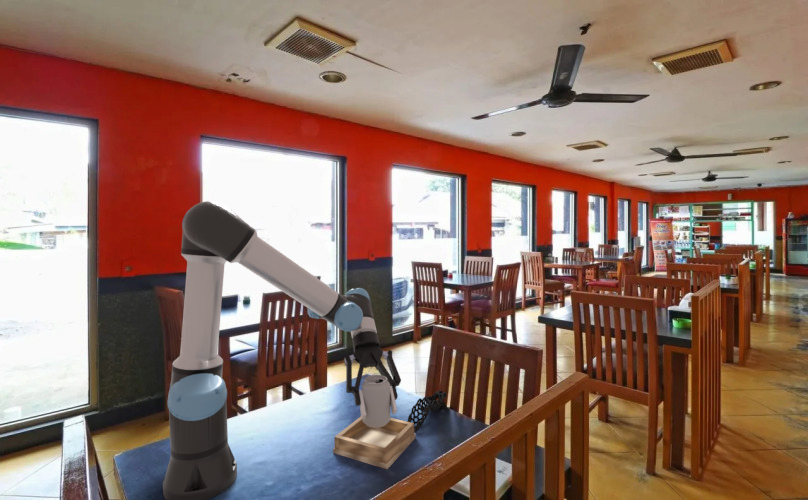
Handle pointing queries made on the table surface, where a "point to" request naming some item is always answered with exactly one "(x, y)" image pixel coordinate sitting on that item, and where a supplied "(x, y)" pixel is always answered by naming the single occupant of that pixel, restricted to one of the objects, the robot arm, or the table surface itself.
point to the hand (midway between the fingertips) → (379, 414)
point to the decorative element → (426, 408)
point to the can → (376, 400)
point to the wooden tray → (375, 442)
